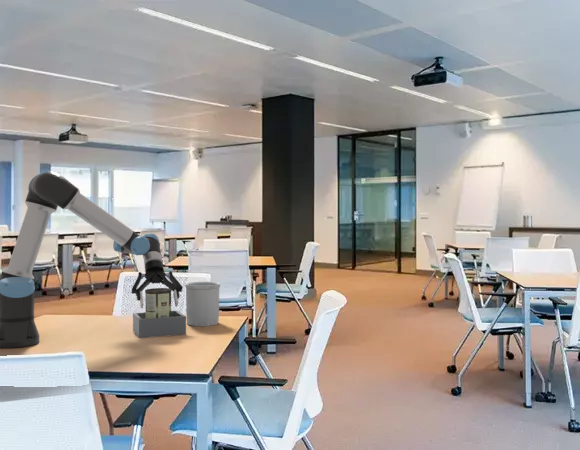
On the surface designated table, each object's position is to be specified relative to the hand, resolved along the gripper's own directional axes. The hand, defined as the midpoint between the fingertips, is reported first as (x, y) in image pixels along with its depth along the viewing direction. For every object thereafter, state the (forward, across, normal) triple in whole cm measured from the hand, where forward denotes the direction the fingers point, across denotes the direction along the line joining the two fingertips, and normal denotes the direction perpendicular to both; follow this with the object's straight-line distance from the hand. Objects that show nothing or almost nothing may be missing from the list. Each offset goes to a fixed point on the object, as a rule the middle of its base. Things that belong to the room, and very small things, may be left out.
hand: (159, 305), depth 219 cm
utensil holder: (-2, -21, -17) cm, 27 cm away
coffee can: (+5, 0, -7) cm, 8 cm away
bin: (+7, 0, -9) cm, 11 cm away
